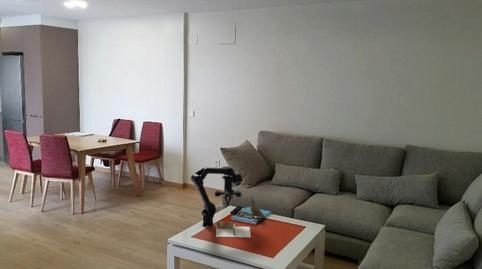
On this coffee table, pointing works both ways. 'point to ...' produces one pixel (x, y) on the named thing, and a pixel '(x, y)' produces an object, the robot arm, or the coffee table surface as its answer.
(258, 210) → the worn brown figurine
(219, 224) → the fence fixed section
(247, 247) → the coffee table surface
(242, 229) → the card
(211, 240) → the coffee table surface
